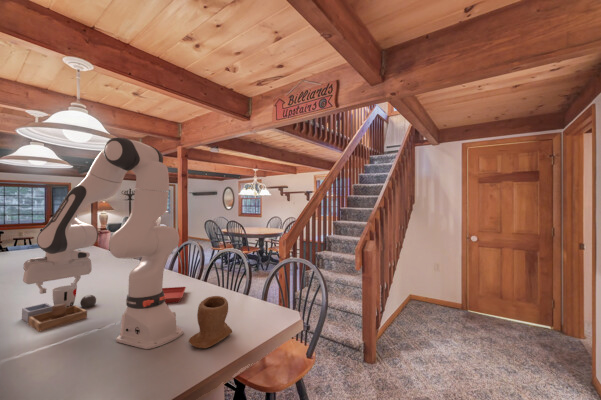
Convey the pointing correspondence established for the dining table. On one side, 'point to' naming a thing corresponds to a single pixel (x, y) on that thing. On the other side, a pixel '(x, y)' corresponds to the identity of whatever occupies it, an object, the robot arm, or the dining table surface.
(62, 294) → the cup
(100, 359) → the dining table surface
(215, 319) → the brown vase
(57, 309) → the walnut peg
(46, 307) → the pen pot
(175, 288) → the plant saucer
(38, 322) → the oak tray
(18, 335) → the dining table surface
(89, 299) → the dark gray ball
